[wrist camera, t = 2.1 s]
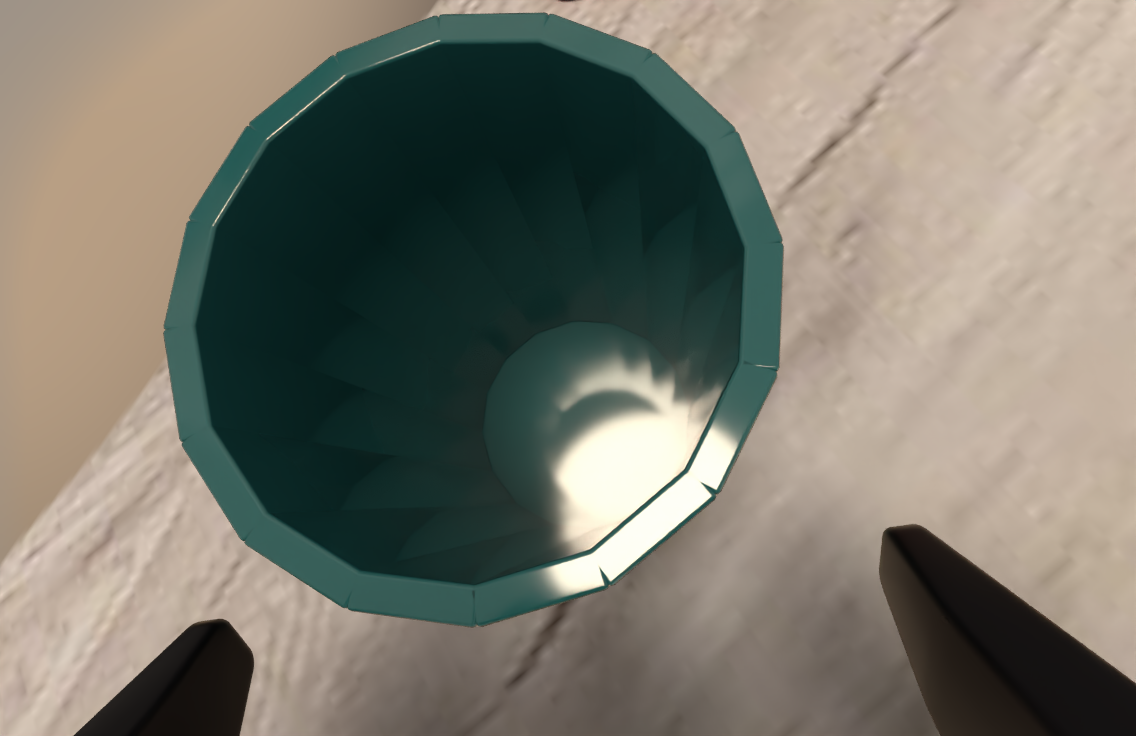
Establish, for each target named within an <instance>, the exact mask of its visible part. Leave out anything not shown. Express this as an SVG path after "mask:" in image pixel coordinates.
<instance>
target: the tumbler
mask: <svg viewBox="0 0 1136 736" xmlns="http://www.w3.org/2000/svg"><path fill="white" fill-rule="evenodd" d="M249 125H250V126H247V127H246V128H245V129H244V131H243V132H242V134H241V135H240V137H239V138H238V140H237V141H236V143H235V145H234V146H233V148H232V149H231V151H230V153H229V154H228V156H227V158H226V159H225V161H224V162H223V164H222V165H221V167H220V168H219V170H218V172H217V173H216V175H215V176H214V178H213V180H212V181H211V183H210V184H209V186H208V188H207V189H206V191H205V192H204V194H203V196H202V197H201V199H200V200H199V202H198V204H197V205H196V207H195V208H194V210H193V211H192V213H191V215H190V216H189V219H190V220H191V221H188V222H187V224H186V229H185V233H184V237H183V242H182V247H181V251H180V256H179V260H178V265H177V269H176V273H175V278H174V282H173V287H172V291H171V295H170V300H169V304H168V309H167V313H166V318H165V323H164V329H165V331H164V333H163V334H164V341H165V348H166V354H167V361H168V367H169V374H170V380H171V387H172V393H173V400H174V406H175V413H176V419H177V426H178V433H179V439H180V441H181V442H183V443H182V447H183V448H184V450H185V452H186V453H187V455H188V456H189V458H190V459H191V461H192V463H193V464H194V466H195V467H196V469H197V471H198V472H199V474H200V475H201V477H202V479H203V480H204V482H205V483H206V485H207V487H208V488H209V490H210V491H211V493H212V495H213V496H214V498H215V499H216V501H217V503H218V504H219V506H220V507H221V509H222V511H223V512H224V514H225V515H226V517H227V519H228V520H229V522H230V523H231V525H232V527H233V528H234V530H235V531H236V533H237V535H238V536H239V538H240V539H241V540H242V541H245V544H246V545H247V546H248V547H250V548H252V549H253V550H255V551H256V552H258V553H259V554H261V555H262V556H264V557H265V558H267V559H268V560H270V561H272V562H273V563H275V564H276V565H278V566H279V567H281V568H282V569H284V570H285V571H287V572H288V573H290V574H292V575H293V576H295V577H296V578H298V579H299V580H301V581H302V582H304V583H305V584H307V585H308V586H310V587H312V588H313V589H315V590H316V591H318V592H319V593H321V594H322V595H324V596H325V597H327V598H328V599H330V600H332V601H333V602H335V603H336V604H338V605H339V606H341V607H342V608H348V609H349V610H351V611H354V612H362V613H369V614H376V615H384V616H391V617H398V618H406V619H413V620H420V621H427V622H435V623H442V624H449V625H457V626H464V627H471V628H473V627H476V626H477V625H478V626H479V627H484V626H487V625H490V624H494V623H497V622H500V621H504V620H507V619H510V618H514V617H517V616H520V615H524V614H527V613H530V612H534V611H537V610H540V609H544V608H547V607H550V606H554V605H557V604H560V603H564V602H567V601H570V600H574V599H577V598H580V597H584V596H587V595H590V594H594V593H597V592H600V591H604V590H606V589H607V588H608V587H609V586H613V585H615V584H616V583H617V582H619V581H620V580H621V579H622V578H623V577H625V576H626V575H627V574H628V573H629V572H630V571H632V570H633V569H634V568H635V567H636V566H637V565H639V564H640V563H641V562H642V561H643V560H645V559H646V558H647V557H648V556H649V555H650V554H652V553H653V552H654V551H655V550H656V549H657V548H659V547H660V546H661V545H662V544H663V543H665V542H666V541H667V540H668V539H669V538H670V537H672V536H673V535H674V534H675V533H676V532H677V531H679V530H680V529H681V528H682V527H683V526H685V525H686V524H687V523H688V522H689V521H690V520H692V519H693V518H694V517H695V516H696V515H697V514H699V513H700V512H701V511H702V510H703V509H705V508H706V507H707V506H708V505H709V504H710V503H712V502H713V501H714V500H715V498H716V495H717V494H719V493H720V492H721V491H722V489H723V487H724V485H725V483H726V481H727V478H728V476H729V474H730V472H731V470H732V468H733V466H734V464H735V462H736V460H737V458H738V456H739V454H740V452H741V450H742V448H743V446H744V444H745V442H746V440H747V438H748V436H749V434H750V432H751V430H752V427H753V425H754V423H755V421H756V419H757V417H758V415H759V413H760V411H761V409H762V407H763V405H764V403H765V401H766V399H767V397H768V395H769V393H770V391H771V389H772V387H773V385H774V383H775V381H776V379H777V371H778V370H779V368H780V342H781V315H782V288H783V261H784V246H783V244H782V236H781V234H780V231H779V229H778V227H777V224H776V222H775V219H774V217H773V214H772V212H771V210H770V207H769V205H768V202H767V200H766V197H765V195H764V193H763V190H762V188H761V185H760V183H759V180H758V178H757V176H756V173H755V171H754V168H753V166H752V164H751V161H750V159H749V156H748V154H747V151H746V149H745V147H744V144H743V142H742V139H741V137H740V135H739V133H738V132H736V130H735V127H734V126H733V125H732V124H731V123H729V122H728V121H727V120H726V119H725V118H724V117H723V116H722V115H721V114H720V113H719V112H718V111H717V110H716V109H715V108H714V107H712V106H711V105H710V104H709V103H708V102H707V101H706V100H705V99H704V98H703V97H702V96H701V95H700V94H699V93H698V92H697V91H695V90H694V89H693V88H692V87H691V86H690V85H689V84H688V83H687V82H686V81H685V80H684V79H683V78H682V77H681V76H679V75H678V74H677V73H676V72H675V71H674V70H673V69H672V68H671V67H670V66H669V65H668V64H667V63H666V62H665V61H664V60H662V59H661V58H660V57H659V56H658V55H657V54H656V53H652V51H651V50H649V49H647V48H644V47H641V46H638V45H636V44H633V43H630V42H627V41H625V40H622V39H619V38H617V37H614V36H611V35H608V34H606V33H603V32H600V31H598V30H595V29H592V28H589V27H587V26H584V25H581V24H579V23H576V22H573V21H570V20H568V19H565V18H562V17H560V16H557V15H554V14H549V15H548V14H547V13H499V14H442V15H440V16H439V17H438V16H433V17H430V18H428V19H425V20H422V21H420V22H417V23H414V24H412V25H409V26H406V27H404V28H401V29H398V30H396V31H393V32H390V33H388V34H385V35H382V36H380V37H377V38H374V39H372V40H369V41H366V42H364V43H361V44H358V45H356V46H353V47H350V48H348V49H345V50H342V51H340V52H337V53H336V56H334V55H333V56H330V57H329V58H328V59H327V60H326V61H324V62H323V63H322V64H321V65H319V66H318V67H317V68H316V69H314V70H313V71H312V72H311V73H310V74H309V75H307V76H306V77H305V78H303V79H302V80H301V81H300V82H299V83H297V84H296V85H295V86H294V87H293V88H291V89H290V90H289V91H288V92H286V93H285V94H284V95H283V96H281V97H280V98H279V99H278V100H276V101H275V102H274V103H273V104H272V105H271V106H269V107H268V108H267V109H265V110H264V111H263V112H262V113H261V114H259V115H258V116H257V117H256V118H254V119H253V120H252V121H251V122H250V124H249Z"/></svg>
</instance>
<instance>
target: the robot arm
mask: <svg viewBox="0 0 1136 736" xmlns="http://www.w3.org/2000/svg"><path fill="white" fill-rule="evenodd" d="M879 575H880V581H881V585H882V588H883V591H884V593H885V596H886V599H887V602H888V604H889V607H890V610H891V612H892V615H893V618H894V621H895V623H896V626H897V629H898V631H899V634H900V637H901V640H902V642H903V645H904V648H905V650H906V653H907V656H908V658H909V661H910V664H911V667H912V669H913V672H914V675H915V677H916V680H917V683H918V686H919V688H920V691H921V693H922V696H923V698H924V701H925V704H926V706H927V708H928V711H929V713H930V715H931V717H932V719H933V721H934V724H935V726H936V728H937V730H938V732H939V734H940V736H1136V683H1135V682H1133V681H1132V680H1131V679H1129V678H1128V677H1127V676H1125V675H1124V674H1123V673H1121V672H1120V671H1118V670H1117V669H1116V668H1114V667H1113V666H1112V665H1110V664H1109V663H1108V662H1106V661H1105V660H1104V659H1102V658H1101V657H1099V656H1098V655H1097V654H1095V653H1094V652H1093V651H1091V650H1090V649H1089V648H1087V647H1086V646H1084V645H1083V644H1082V643H1080V642H1079V641H1078V640H1076V639H1075V638H1074V637H1072V636H1071V635H1070V634H1068V633H1067V632H1065V631H1064V630H1063V629H1061V628H1060V627H1059V626H1057V625H1056V624H1055V623H1053V622H1052V621H1051V620H1049V619H1048V618H1046V617H1045V616H1044V615H1042V614H1041V613H1040V612H1038V611H1037V610H1036V609H1034V608H1033V607H1032V606H1030V605H1029V604H1027V603H1026V602H1025V601H1023V600H1022V599H1021V598H1019V597H1018V596H1017V595H1015V594H1014V593H1013V592H1011V591H1010V590H1008V589H1007V588H1006V587H1004V586H1003V585H1002V584H1000V583H999V582H998V581H996V580H995V579H993V578H992V577H991V576H989V575H988V574H987V573H985V572H984V571H983V570H981V569H980V568H979V567H977V566H976V565H974V564H973V563H972V562H970V561H969V560H968V559H966V558H965V557H964V556H962V555H961V554H960V553H958V552H957V551H955V550H954V549H953V548H951V547H950V546H949V545H947V544H946V543H945V542H943V541H942V540H941V539H939V538H938V537H936V536H935V535H934V534H932V533H931V532H930V531H928V530H927V529H925V528H924V527H922V526H920V525H916V524H910V525H903V526H896V527H889V528H887V529H886V530H885V531H884V532H883V536H882V545H881V555H880V565H879ZM253 669H254V658H253V654H252V651H251V649H250V648H249V647H248V645H247V644H246V643H245V642H244V640H243V639H242V638H241V637H240V635H239V634H238V633H237V632H236V630H235V629H234V628H233V626H232V625H231V624H230V623H229V622H228V621H226V620H224V619H214V620H207V621H201V622H197V623H195V624H193V625H191V626H190V627H189V628H187V629H186V630H185V631H184V632H183V633H182V634H181V635H180V636H179V637H178V638H177V639H176V640H175V641H173V642H172V643H171V644H170V645H169V646H168V647H167V648H166V649H165V650H164V651H163V652H162V653H161V654H160V655H159V656H158V657H157V658H155V659H154V660H153V661H152V662H151V663H150V664H149V665H148V666H147V667H146V668H145V669H144V670H143V671H142V672H141V673H140V674H138V675H137V676H136V677H135V678H134V679H133V680H132V681H131V682H130V683H129V684H128V685H127V686H126V687H125V688H124V689H123V690H121V691H120V692H119V693H118V694H117V695H116V696H115V697H114V698H113V699H112V700H111V701H110V702H109V703H108V704H107V705H106V706H105V707H103V708H102V709H101V710H100V711H99V712H98V713H97V714H96V715H95V716H94V717H93V718H92V719H91V720H90V721H89V722H88V723H86V724H85V725H84V726H83V727H82V728H81V729H80V730H79V731H78V732H77V733H76V734H75V735H74V736H240V731H241V726H242V722H243V717H244V712H245V707H246V703H247V698H248V693H249V688H250V684H251V679H252V674H253Z"/></svg>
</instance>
